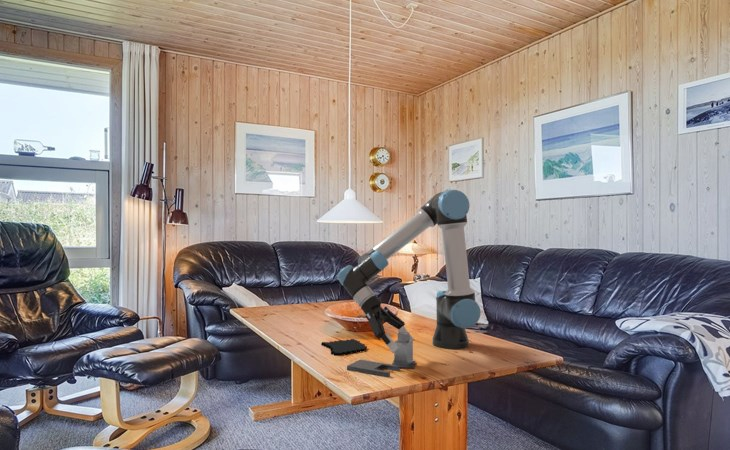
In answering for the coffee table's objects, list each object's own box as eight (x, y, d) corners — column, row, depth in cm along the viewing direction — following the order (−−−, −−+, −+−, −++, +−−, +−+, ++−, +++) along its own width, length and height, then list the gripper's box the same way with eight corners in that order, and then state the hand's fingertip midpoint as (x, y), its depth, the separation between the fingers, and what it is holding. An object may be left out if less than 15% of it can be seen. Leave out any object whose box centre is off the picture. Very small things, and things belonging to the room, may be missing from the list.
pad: (415, 362, 166) (415, 360, 166) (413, 369, 158) (413, 367, 158) (393, 361, 167) (393, 359, 167) (391, 367, 159) (391, 366, 159)
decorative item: (327, 337, 200) (371, 339, 196) (327, 341, 200) (371, 343, 196) (311, 351, 178) (360, 354, 174) (311, 355, 178) (360, 358, 174)
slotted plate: (347, 369, 157) (347, 365, 157) (360, 363, 165) (360, 359, 165) (388, 377, 149) (388, 372, 149) (399, 369, 157) (399, 365, 157)
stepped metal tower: (394, 364, 162) (394, 333, 162) (400, 360, 166) (400, 330, 166) (407, 366, 159) (406, 334, 159) (412, 362, 163) (412, 332, 164)
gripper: (377, 303, 182) (411, 345, 174) (344, 312, 160) (381, 361, 153) (388, 290, 179) (424, 332, 172) (357, 298, 158) (395, 347, 150)
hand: (404, 346), depth 162 cm, fingers open, 13 cm apart
